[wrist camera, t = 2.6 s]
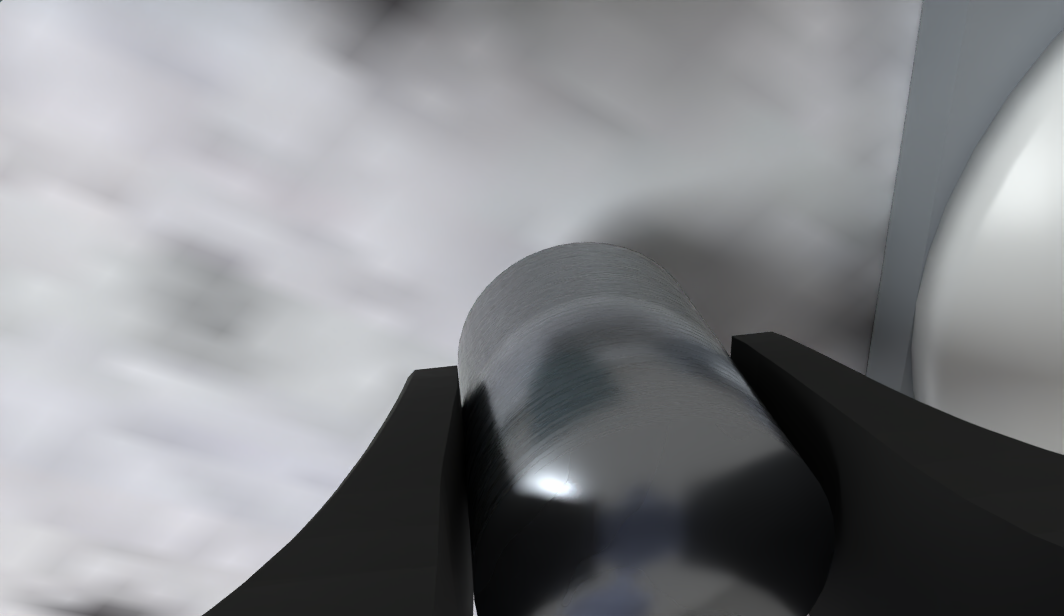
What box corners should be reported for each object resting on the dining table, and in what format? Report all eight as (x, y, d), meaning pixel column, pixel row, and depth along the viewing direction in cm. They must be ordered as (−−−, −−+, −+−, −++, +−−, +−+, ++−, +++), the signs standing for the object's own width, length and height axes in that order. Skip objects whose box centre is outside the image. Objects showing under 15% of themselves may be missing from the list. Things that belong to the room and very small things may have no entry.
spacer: (693, 441, 14) (816, 677, 10) (469, 467, 14) (489, 725, 9) (701, 230, 12) (856, 400, 8) (445, 255, 12) (455, 446, 8)
